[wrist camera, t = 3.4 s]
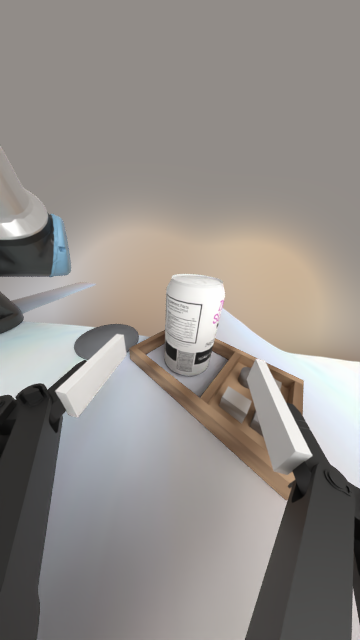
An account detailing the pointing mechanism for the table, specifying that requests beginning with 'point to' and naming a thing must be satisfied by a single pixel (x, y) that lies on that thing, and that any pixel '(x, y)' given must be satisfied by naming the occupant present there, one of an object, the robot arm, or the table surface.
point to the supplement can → (191, 321)
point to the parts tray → (228, 404)
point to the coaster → (104, 339)
